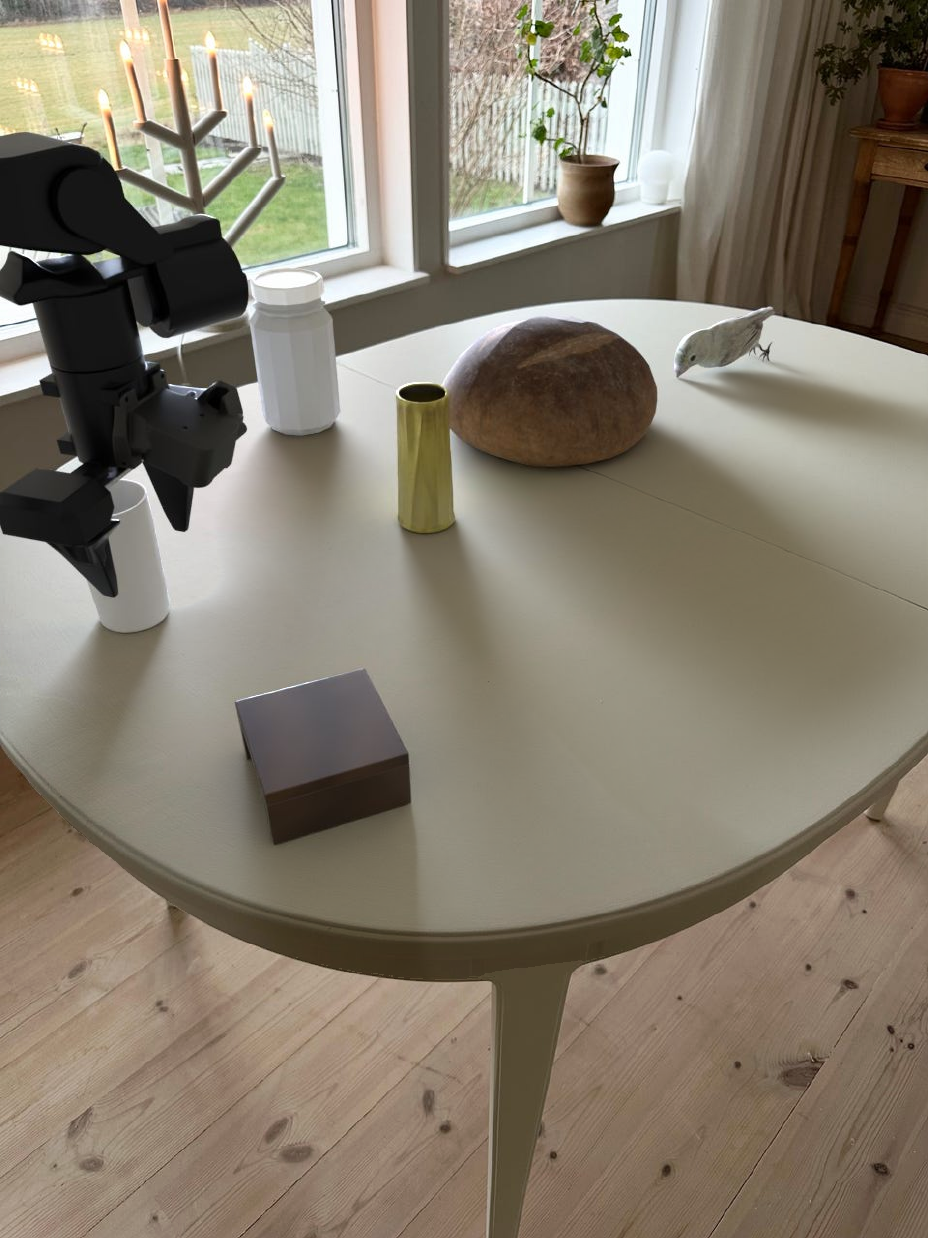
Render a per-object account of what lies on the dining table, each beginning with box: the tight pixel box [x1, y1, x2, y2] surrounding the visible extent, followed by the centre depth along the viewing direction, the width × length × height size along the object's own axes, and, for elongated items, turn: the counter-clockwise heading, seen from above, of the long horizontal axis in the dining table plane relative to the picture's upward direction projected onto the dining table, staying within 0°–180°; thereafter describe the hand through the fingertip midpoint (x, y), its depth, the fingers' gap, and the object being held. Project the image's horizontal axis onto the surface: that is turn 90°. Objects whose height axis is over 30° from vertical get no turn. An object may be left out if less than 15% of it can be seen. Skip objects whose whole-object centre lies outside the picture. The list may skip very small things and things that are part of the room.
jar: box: [249, 267, 341, 437], centre depth 112 cm, size 10×10×18 cm
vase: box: [395, 381, 456, 534], centre depth 94 cm, size 6×6×14 cm
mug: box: [86, 478, 171, 634], centre depth 82 cm, size 10×7×12 cm, turn 38°
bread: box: [441, 316, 658, 468], centre depth 113 cm, size 26×27×13 cm
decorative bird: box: [673, 306, 776, 378], centre depth 130 cm, size 5×16×8 cm, turn 118°
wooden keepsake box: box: [234, 667, 412, 846], centre depth 67 cm, size 10×10×5 cm
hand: (147, 561), depth 68 cm, fingers open, 9 cm apart
